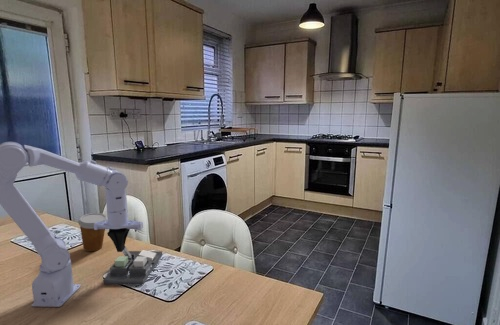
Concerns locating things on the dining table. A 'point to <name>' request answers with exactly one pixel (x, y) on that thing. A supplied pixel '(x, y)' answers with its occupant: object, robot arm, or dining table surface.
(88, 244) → the disposable coffee cup
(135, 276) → the panel
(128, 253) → the toggle lever
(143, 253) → the rocker
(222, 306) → the dining table surface
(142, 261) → the button
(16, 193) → the robot arm
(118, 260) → the button
